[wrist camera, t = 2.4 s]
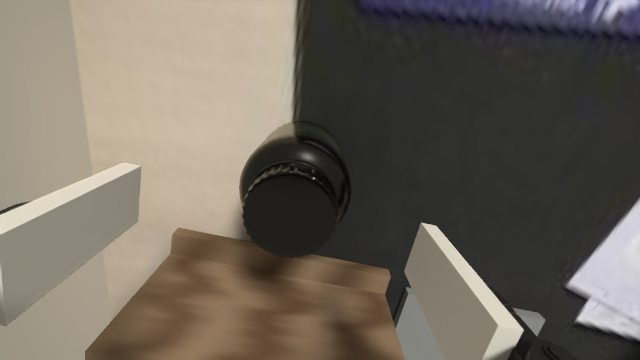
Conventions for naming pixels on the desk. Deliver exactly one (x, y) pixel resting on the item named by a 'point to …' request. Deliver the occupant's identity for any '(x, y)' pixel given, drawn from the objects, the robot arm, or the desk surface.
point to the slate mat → (418, 336)
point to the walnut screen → (252, 308)
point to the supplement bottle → (294, 190)
